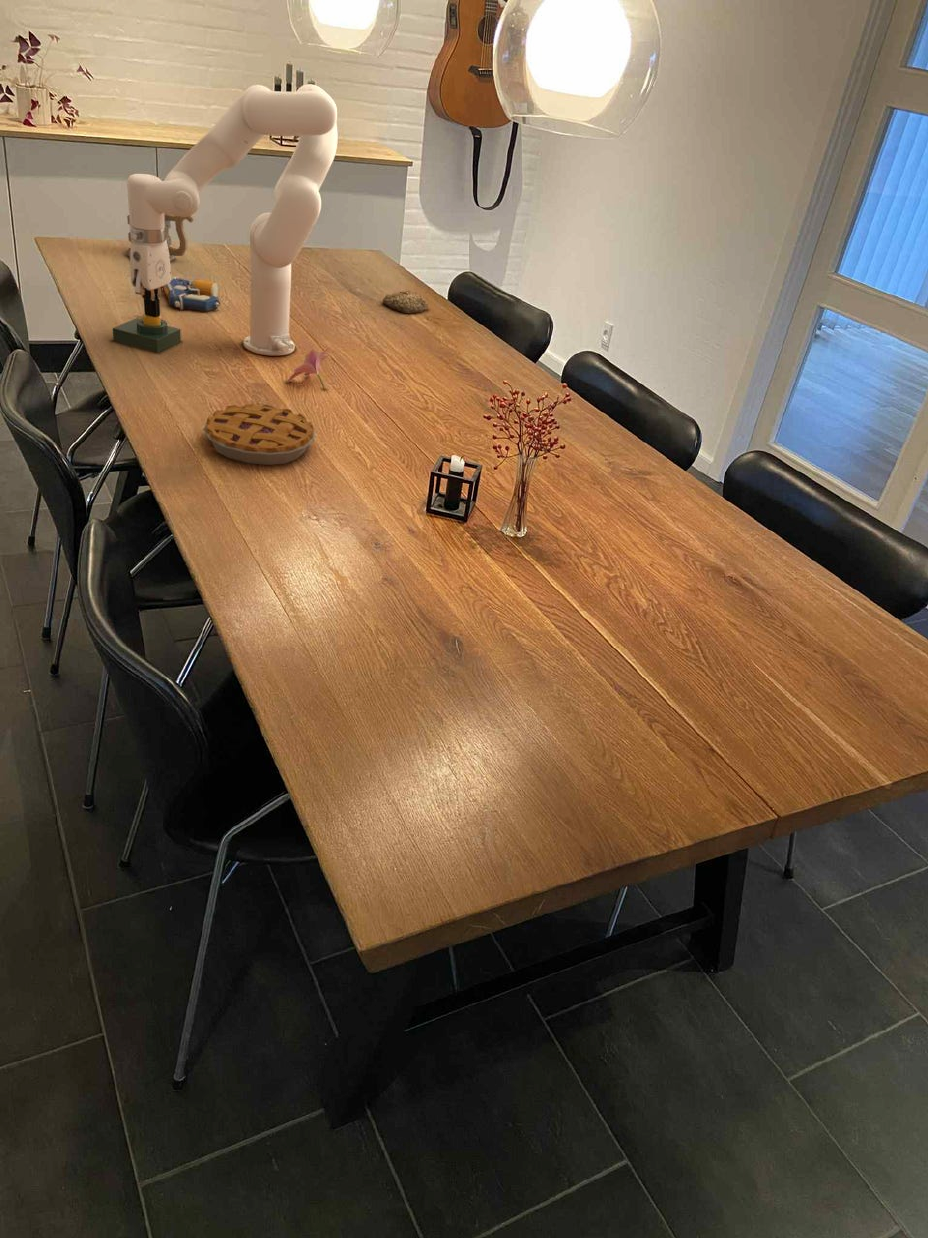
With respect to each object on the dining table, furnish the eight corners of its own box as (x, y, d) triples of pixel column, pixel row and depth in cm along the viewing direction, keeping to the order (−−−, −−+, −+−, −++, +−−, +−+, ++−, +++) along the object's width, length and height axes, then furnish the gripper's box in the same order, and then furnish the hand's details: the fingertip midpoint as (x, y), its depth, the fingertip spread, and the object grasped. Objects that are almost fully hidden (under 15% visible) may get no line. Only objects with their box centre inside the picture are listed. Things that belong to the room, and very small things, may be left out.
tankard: (121, 257, 276) (117, 204, 268) (140, 248, 286) (137, 197, 278) (185, 270, 275) (183, 217, 266) (202, 261, 285) (201, 209, 277)
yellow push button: (164, 324, 223) (163, 315, 222) (154, 328, 220) (154, 319, 218) (149, 320, 223) (149, 311, 222) (139, 324, 220) (139, 315, 219)
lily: (334, 380, 224) (318, 342, 220) (352, 379, 214) (336, 339, 210) (290, 399, 220) (274, 360, 216) (306, 399, 210) (289, 358, 206)
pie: (223, 414, 196) (223, 392, 194) (325, 432, 196) (326, 410, 194) (188, 456, 178) (188, 432, 176) (300, 476, 178) (301, 452, 176)
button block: (180, 341, 227) (180, 321, 224) (157, 353, 219) (156, 332, 216) (137, 330, 229) (136, 310, 227) (113, 341, 221) (111, 320, 218)
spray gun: (212, 288, 265) (158, 288, 258) (212, 273, 262) (157, 272, 256) (229, 314, 250) (172, 314, 244) (229, 298, 248) (171, 298, 241)
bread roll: (402, 315, 270) (404, 298, 267) (377, 302, 277) (378, 285, 274) (435, 311, 278) (437, 295, 275) (410, 298, 285) (412, 282, 282)
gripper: (143, 244, 203) (148, 326, 214) (180, 232, 215) (183, 311, 226) (113, 237, 205) (119, 319, 215) (152, 225, 217) (156, 304, 227)
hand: (152, 315), depth 220 cm, fingers closed
